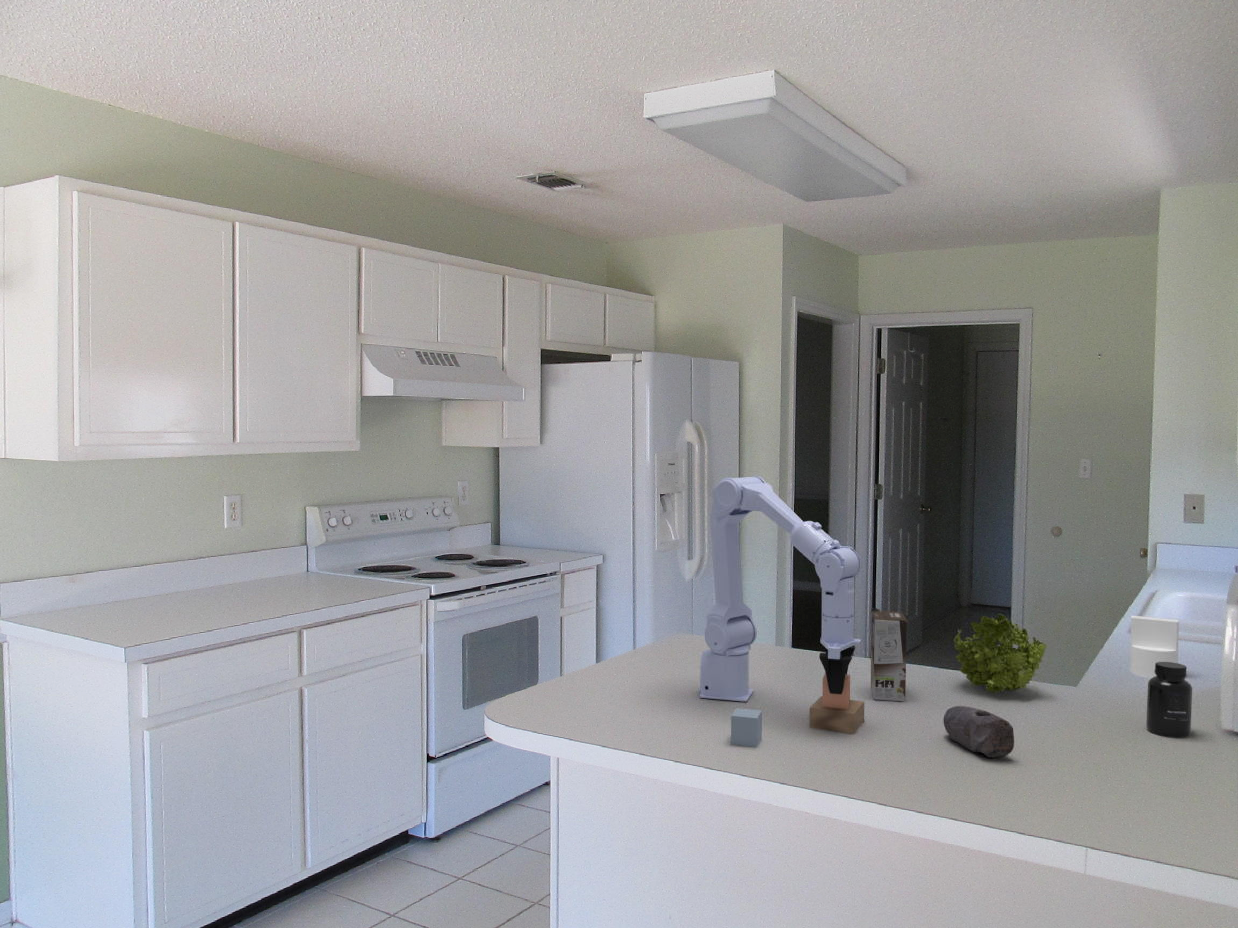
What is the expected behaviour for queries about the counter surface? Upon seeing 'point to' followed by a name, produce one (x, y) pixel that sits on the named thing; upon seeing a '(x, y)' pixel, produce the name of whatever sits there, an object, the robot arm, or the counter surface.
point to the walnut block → (837, 717)
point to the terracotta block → (836, 695)
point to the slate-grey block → (746, 727)
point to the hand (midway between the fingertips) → (837, 689)
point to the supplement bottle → (1169, 701)
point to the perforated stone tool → (979, 731)
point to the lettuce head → (999, 655)
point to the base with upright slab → (1152, 644)
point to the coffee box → (888, 655)
